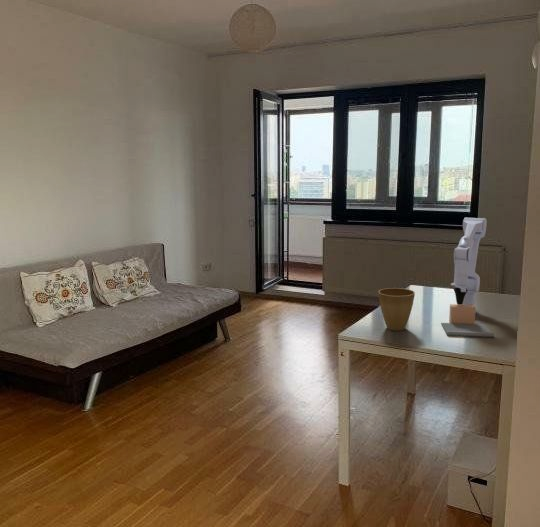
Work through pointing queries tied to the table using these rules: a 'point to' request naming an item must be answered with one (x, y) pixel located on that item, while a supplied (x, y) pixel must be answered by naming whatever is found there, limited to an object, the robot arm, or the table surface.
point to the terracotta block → (462, 314)
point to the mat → (467, 330)
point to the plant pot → (396, 307)
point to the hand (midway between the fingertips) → (459, 304)
